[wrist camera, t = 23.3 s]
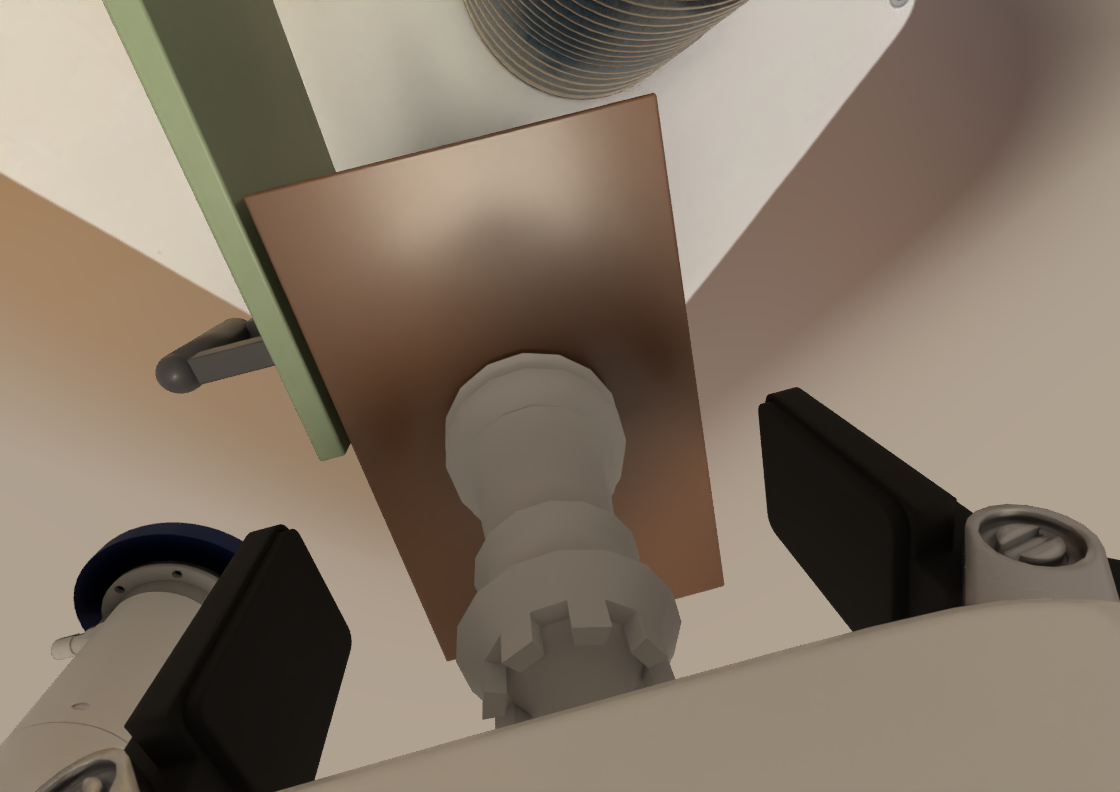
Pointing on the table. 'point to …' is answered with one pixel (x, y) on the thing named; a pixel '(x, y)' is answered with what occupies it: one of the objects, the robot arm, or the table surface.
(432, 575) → the cabinet
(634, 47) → the vase
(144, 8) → the door
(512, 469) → the rook chess piece
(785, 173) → the table surface
